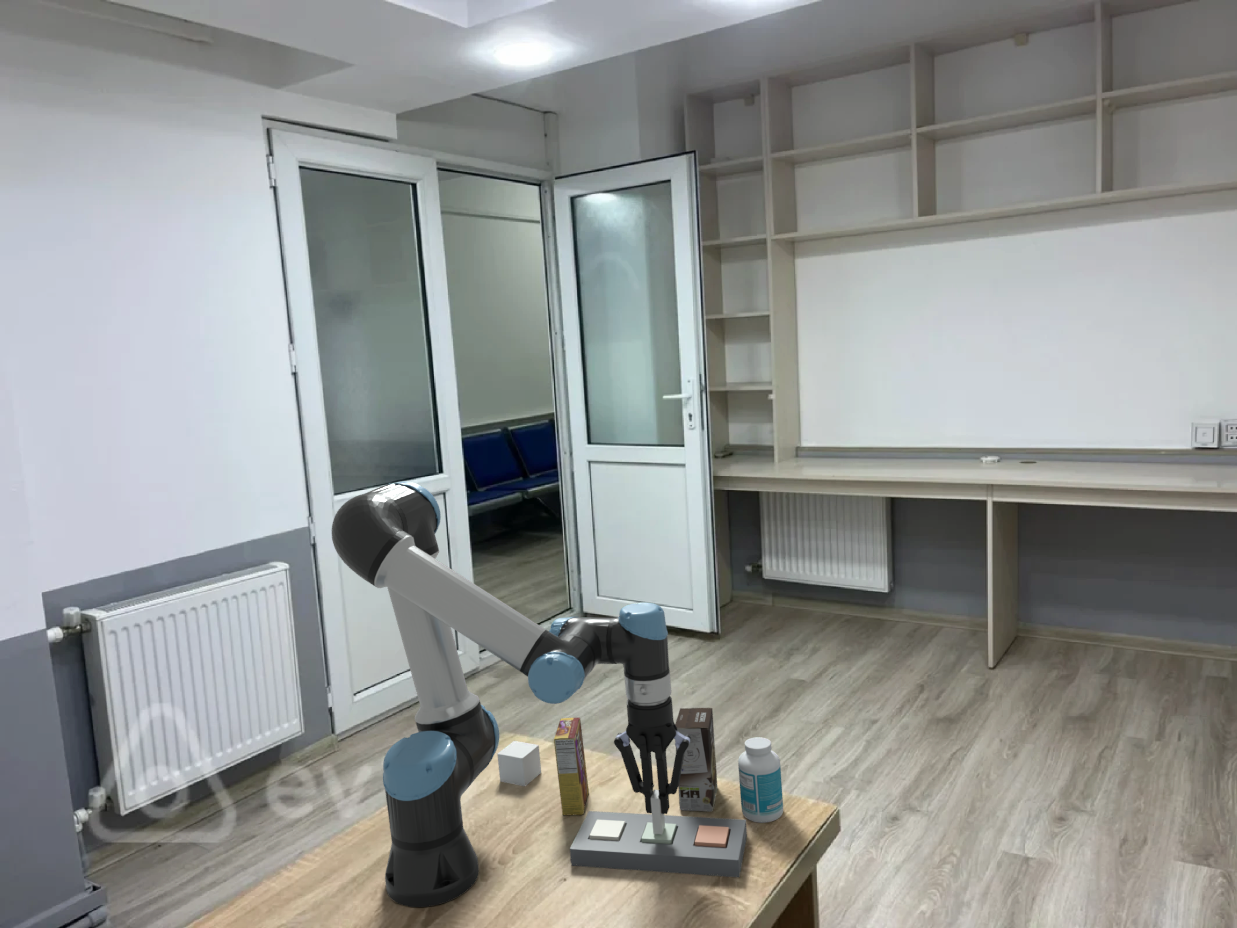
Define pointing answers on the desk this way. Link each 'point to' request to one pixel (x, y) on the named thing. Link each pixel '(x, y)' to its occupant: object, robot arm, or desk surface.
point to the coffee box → (697, 760)
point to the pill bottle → (760, 781)
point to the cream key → (608, 830)
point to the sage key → (665, 838)
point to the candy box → (571, 766)
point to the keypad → (660, 846)
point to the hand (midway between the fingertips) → (659, 829)
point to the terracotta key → (712, 836)
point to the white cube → (519, 763)
